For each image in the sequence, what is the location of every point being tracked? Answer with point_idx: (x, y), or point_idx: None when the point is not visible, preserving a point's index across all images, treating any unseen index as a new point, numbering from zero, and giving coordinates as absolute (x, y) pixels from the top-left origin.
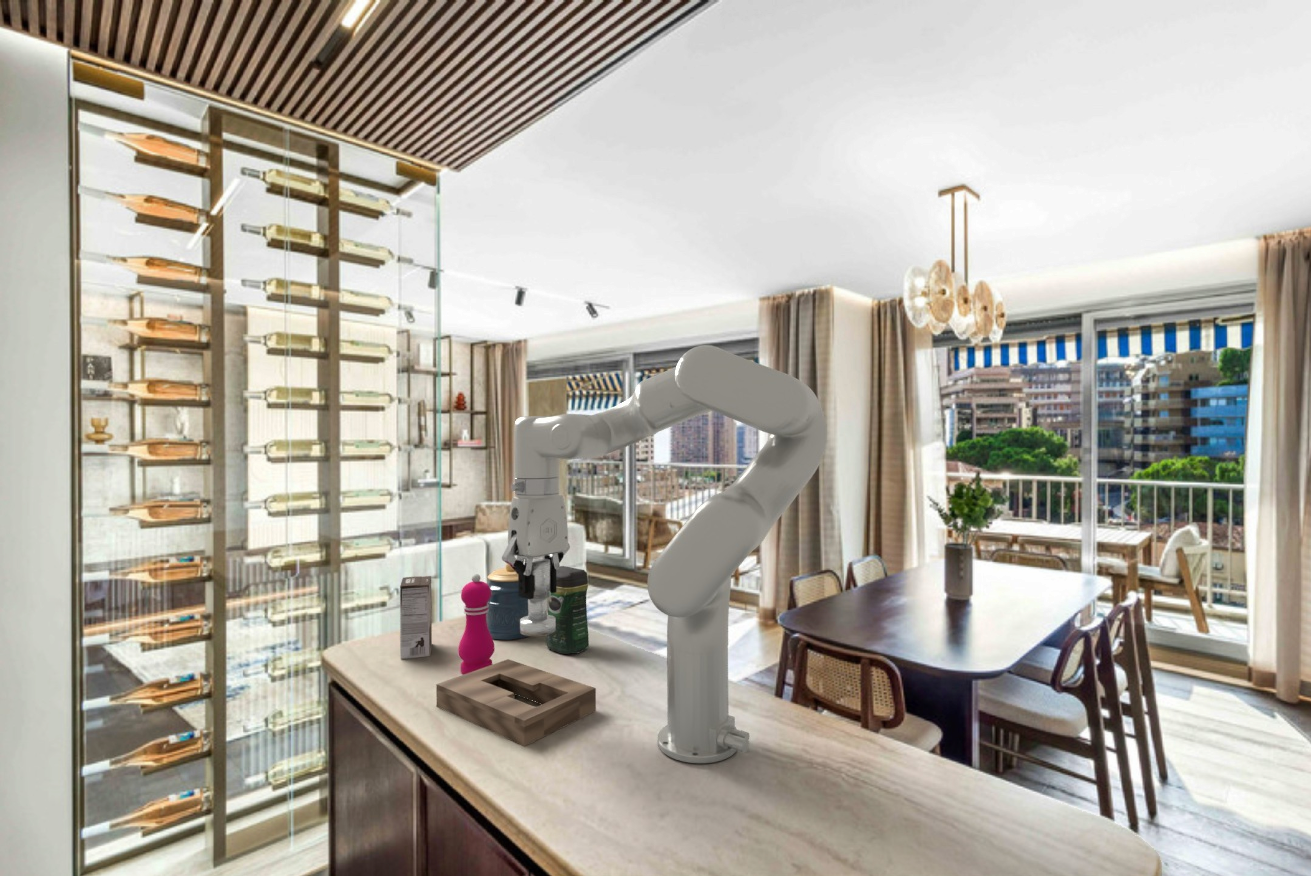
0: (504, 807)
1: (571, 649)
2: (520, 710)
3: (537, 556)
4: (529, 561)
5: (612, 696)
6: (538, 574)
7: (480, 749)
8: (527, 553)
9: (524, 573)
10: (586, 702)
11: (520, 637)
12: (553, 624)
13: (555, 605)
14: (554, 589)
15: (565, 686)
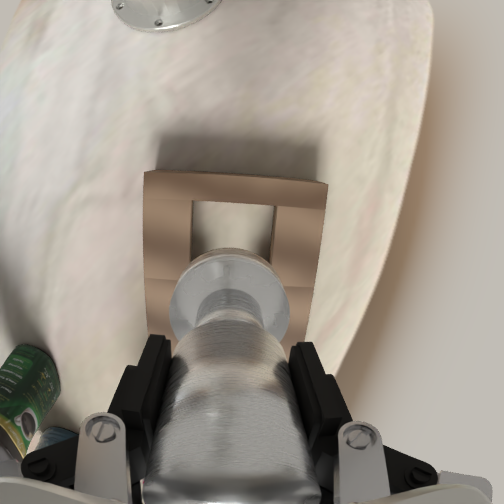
0: (423, 105)
1: (42, 355)
2: (302, 219)
3: (372, 501)
4: (370, 488)
5: (97, 187)
6: (285, 415)
7: (353, 229)
8: (482, 493)
9: (373, 434)
10: (173, 171)
11: (72, 432)
12: (211, 257)
13: (28, 421)
14: (161, 341)
15: (172, 227)
